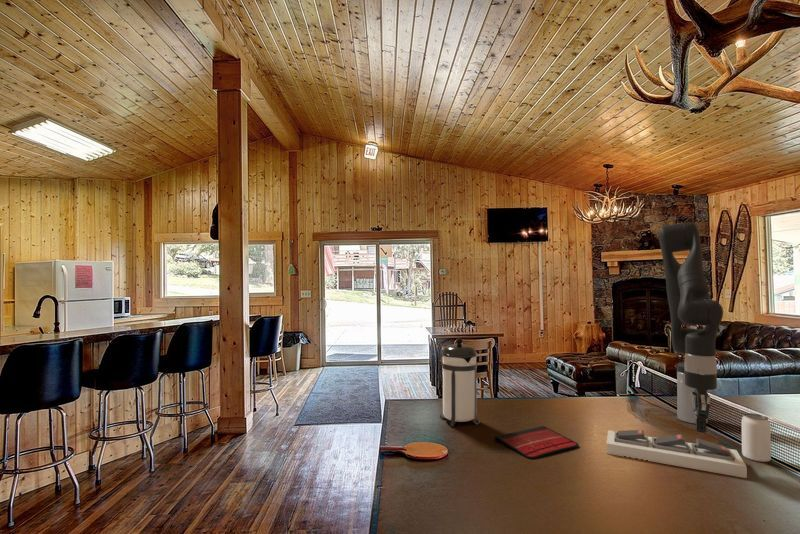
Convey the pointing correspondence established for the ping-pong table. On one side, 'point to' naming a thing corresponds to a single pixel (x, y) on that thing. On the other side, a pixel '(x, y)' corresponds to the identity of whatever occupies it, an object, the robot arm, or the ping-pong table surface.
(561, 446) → the binder
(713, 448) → the rocker
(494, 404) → the ping-pong table surface
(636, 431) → the rocker
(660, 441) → the rocker
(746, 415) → the can
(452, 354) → the coffee press
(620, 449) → the switch panel
